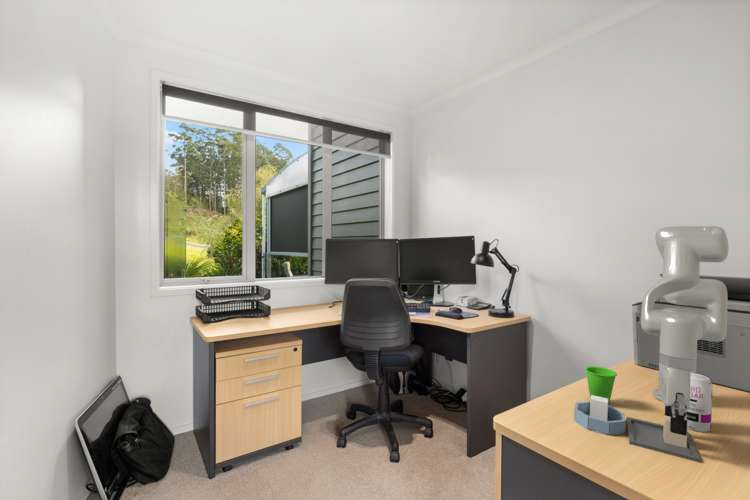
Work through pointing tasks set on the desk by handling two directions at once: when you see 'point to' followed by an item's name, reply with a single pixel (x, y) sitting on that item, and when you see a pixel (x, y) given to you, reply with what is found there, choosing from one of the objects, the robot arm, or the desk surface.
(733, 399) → the desk surface
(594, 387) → the cup
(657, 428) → the tray
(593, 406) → the white block
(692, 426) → the supplement can
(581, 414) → the bowl
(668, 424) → the beige rectangular block
